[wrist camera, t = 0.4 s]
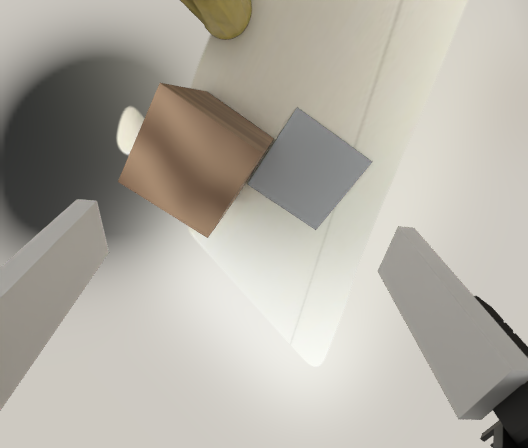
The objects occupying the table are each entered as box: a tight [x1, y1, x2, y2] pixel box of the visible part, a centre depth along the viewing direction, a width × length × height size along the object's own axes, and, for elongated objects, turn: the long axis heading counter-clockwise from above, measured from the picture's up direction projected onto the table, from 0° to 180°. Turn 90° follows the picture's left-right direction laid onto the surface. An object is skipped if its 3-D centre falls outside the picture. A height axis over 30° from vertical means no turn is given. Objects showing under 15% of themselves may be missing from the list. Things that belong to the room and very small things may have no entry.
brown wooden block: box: [118, 83, 274, 238], centre depth 32 cm, size 10×10×13 cm
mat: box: [248, 107, 372, 230], centre depth 38 cm, size 12×12×1 cm
